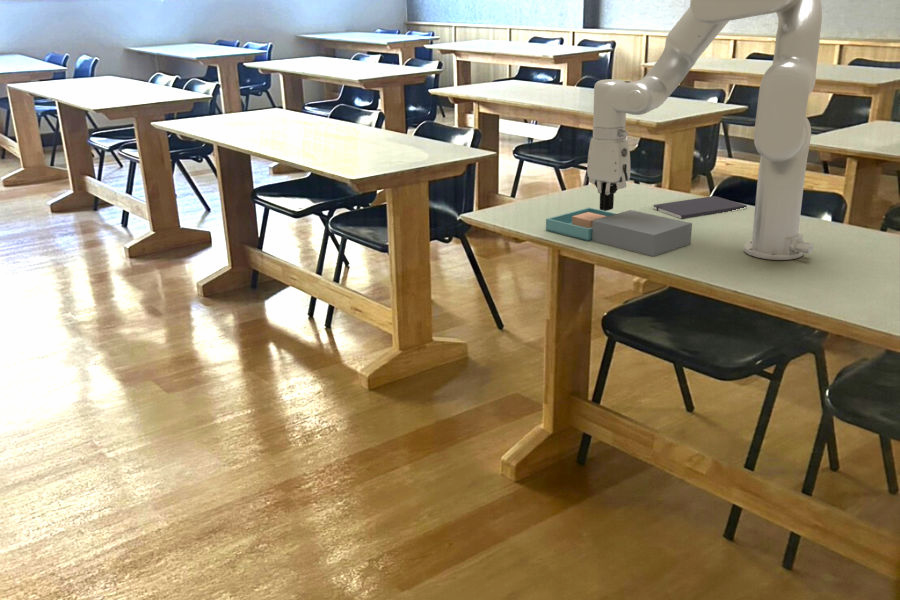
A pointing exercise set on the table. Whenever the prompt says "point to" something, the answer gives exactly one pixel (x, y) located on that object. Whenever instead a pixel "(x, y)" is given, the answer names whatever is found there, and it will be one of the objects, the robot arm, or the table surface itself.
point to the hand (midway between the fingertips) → (606, 209)
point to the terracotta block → (585, 219)
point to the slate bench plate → (641, 232)
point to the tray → (565, 227)
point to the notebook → (698, 207)
